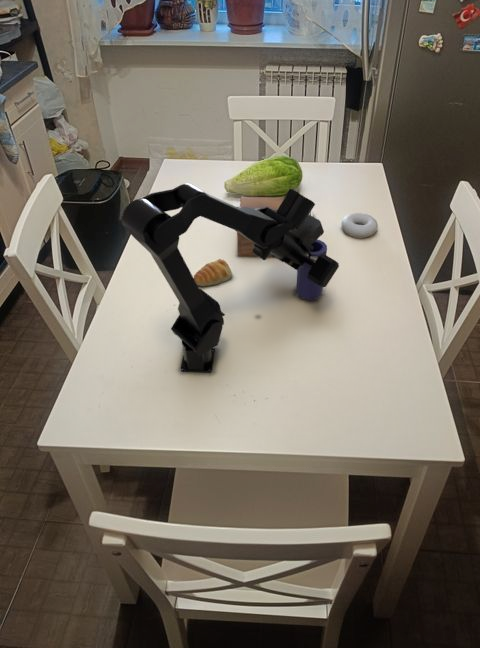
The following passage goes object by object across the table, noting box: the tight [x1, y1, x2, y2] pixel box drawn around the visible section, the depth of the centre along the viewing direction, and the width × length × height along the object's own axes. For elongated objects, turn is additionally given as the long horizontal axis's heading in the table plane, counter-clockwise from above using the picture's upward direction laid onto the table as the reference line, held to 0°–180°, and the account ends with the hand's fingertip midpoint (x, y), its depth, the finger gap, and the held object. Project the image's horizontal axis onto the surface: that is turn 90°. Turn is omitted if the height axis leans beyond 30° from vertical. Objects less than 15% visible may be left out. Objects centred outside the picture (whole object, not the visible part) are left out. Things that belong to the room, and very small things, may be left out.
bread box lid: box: [239, 196, 285, 211], centre depth 130 cm, size 15×15×4 cm
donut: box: [341, 212, 379, 239], centre depth 142 cm, size 10×4×10 cm
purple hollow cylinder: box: [295, 238, 328, 301], centre depth 118 cm, size 6×6×13 cm
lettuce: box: [223, 155, 303, 197], centre depth 155 cm, size 12×24×13 cm
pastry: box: [193, 258, 233, 288], centre depth 125 cm, size 9×7×4 cm
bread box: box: [236, 230, 291, 258], centre depth 135 cm, size 14×15×9 cm
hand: (315, 267), depth 118 cm, fingers closed on purple hollow cylinder, 6 cm apart
